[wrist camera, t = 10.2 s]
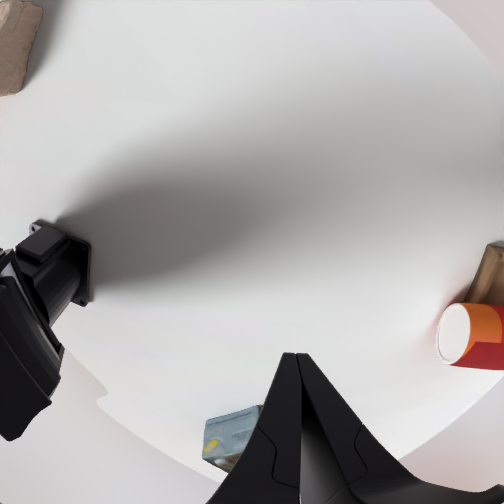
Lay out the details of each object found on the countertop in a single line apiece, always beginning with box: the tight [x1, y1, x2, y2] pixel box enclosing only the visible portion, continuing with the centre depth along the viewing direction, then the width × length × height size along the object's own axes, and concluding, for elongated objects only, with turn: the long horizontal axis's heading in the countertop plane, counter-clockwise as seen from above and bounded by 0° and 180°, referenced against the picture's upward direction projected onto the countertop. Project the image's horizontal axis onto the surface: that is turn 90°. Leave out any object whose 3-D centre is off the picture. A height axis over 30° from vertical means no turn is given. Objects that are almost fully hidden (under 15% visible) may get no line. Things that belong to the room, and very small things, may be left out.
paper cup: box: [435, 303, 504, 370], centre depth 20 cm, size 8×8×14 cm
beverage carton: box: [202, 405, 300, 490], centre depth 31 cm, size 8×19×7 cm, turn 33°
